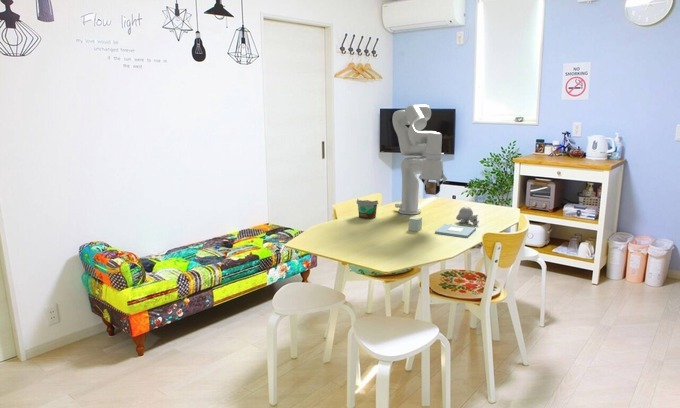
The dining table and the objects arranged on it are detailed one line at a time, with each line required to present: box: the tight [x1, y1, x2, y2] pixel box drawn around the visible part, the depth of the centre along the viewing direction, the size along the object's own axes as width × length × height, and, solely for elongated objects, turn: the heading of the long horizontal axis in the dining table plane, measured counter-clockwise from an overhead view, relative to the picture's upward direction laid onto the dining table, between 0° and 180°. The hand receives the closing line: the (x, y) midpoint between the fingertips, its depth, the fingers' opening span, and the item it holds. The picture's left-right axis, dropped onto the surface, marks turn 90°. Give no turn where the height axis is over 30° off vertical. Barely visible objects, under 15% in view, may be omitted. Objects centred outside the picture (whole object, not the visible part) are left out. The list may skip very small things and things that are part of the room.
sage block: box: [408, 215, 423, 232], centre depth 252 cm, size 5×5×6 cm
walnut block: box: [425, 180, 439, 196], centre depth 256 cm, size 5×5×6 cm
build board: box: [434, 223, 477, 239], centre depth 249 cm, size 16×16×1 cm
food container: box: [356, 198, 379, 220], centre depth 274 cm, size 12×6×10 cm, turn 68°
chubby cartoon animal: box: [455, 206, 480, 226], centre depth 264 cm, size 7×12×8 cm, turn 43°
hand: (432, 192), depth 257 cm, fingers closed on walnut block, 5 cm apart
